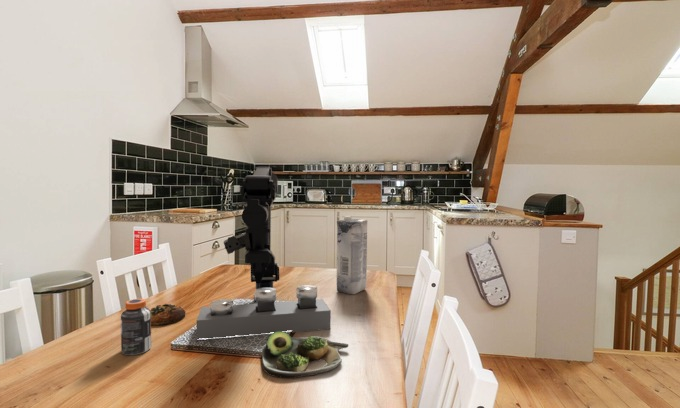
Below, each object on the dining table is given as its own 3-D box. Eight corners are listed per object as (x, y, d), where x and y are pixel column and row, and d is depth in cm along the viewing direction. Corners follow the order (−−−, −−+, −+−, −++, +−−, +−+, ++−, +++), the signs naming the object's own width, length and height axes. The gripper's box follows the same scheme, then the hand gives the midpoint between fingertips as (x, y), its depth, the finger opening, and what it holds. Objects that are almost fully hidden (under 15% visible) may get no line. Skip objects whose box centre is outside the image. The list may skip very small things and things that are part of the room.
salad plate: (340, 338, 91) (340, 320, 91) (360, 374, 73) (360, 351, 73) (261, 344, 86) (261, 325, 86) (262, 384, 69) (262, 360, 69)
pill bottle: (157, 347, 83) (156, 298, 83) (133, 358, 78) (132, 306, 77) (139, 342, 86) (139, 295, 85) (115, 352, 81) (114, 302, 80)
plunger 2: (295, 310, 101) (295, 285, 100) (314, 308, 102) (315, 284, 102) (297, 317, 95) (298, 291, 95) (318, 315, 97) (319, 290, 96)
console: (201, 325, 97) (201, 307, 96) (322, 315, 105) (322, 298, 105) (196, 341, 87) (196, 320, 87) (330, 329, 95) (330, 310, 95)
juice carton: (369, 289, 133) (370, 216, 132) (354, 296, 124) (355, 217, 123) (348, 285, 138) (349, 214, 137) (333, 292, 129) (334, 216, 128)
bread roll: (188, 321, 100) (185, 303, 99) (143, 334, 94) (140, 316, 94) (183, 310, 109) (180, 294, 109) (142, 322, 104) (139, 305, 103)
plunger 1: (211, 325, 95) (211, 299, 95) (233, 324, 97) (233, 298, 96) (209, 334, 90) (209, 306, 90) (232, 332, 91) (232, 305, 91)
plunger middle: (254, 313, 98) (254, 288, 98) (275, 311, 99) (275, 286, 99) (255, 320, 93) (255, 294, 92) (277, 319, 94) (277, 292, 94)
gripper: (228, 220, 101) (228, 276, 102) (222, 228, 83) (222, 295, 84) (268, 220, 104) (268, 274, 105) (271, 227, 86) (271, 292, 87)
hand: (258, 283), depth 95 cm, fingers closed
